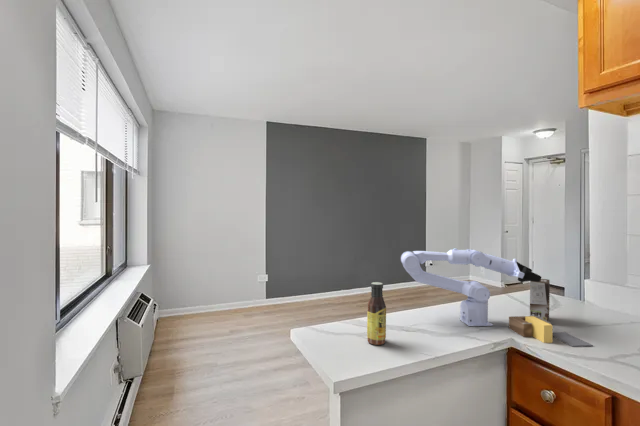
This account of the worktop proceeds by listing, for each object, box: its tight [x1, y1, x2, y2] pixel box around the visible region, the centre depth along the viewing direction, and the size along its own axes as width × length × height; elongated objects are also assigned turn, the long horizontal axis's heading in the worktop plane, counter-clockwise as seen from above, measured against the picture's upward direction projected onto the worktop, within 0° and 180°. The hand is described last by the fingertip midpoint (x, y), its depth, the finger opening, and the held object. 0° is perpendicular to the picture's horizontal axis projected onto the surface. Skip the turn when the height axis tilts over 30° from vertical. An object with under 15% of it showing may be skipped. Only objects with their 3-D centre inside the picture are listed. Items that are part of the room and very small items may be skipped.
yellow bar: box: [525, 315, 554, 344], centre depth 112 cm, size 3×9×6 cm, turn 3°
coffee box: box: [529, 278, 551, 322], centre depth 129 cm, size 9×6×16 cm
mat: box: [552, 331, 594, 348], centre depth 110 cm, size 7×11×1 cm, turn 3°
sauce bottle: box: [366, 281, 387, 346], centre depth 108 cm, size 6×6×20 cm
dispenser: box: [508, 315, 552, 338], centre depth 116 cm, size 10×8×5 cm
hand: (535, 275), depth 123 cm, fingers open, 7 cm apart
